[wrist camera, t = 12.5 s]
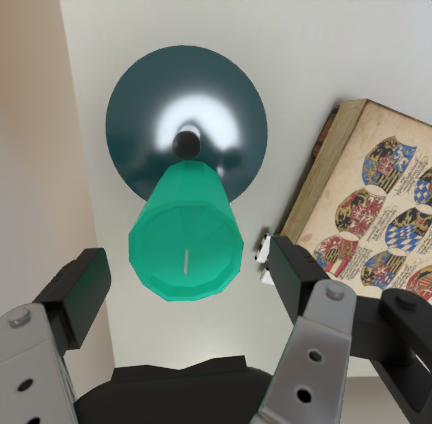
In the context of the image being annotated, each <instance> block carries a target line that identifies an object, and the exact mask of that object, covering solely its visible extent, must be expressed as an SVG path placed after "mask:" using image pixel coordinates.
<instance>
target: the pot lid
mask: <svg viewBox="0 0 432 424" xmlns="http://www.w3.org/2000/svg"><path fill="white" fill-rule="evenodd" d="M106 139H107V145H108V149H109V152H110V156H111V158H112V161H113V163H114V165H115V167H116V169H117V171H118V173H119V174H120V176H121V177H122V178H123V180H124V181H125V183H126V184H127V185H128V186H129V187H130V188H131V189H132V190H133V191H134V192H135V193H136V194H137V195H139V196H140V197H141V198H143V199H144V200H146V201H148V199H149V198H150V196H151V194H152V192H153V191H154V189H155V187H156V185H157V183H158V182H159V180H160V179H161V177H162V176H163V175H164V173H165V172H166V170H167V169H168V168H169V166H172V165H174V164H177V163H179V162H181V161H184V160H191V161H199V162H204V163H205V164H207V165H208V166H209V167H211V168H212V169H213V170H215V171H216V172H217V173H218V175H219V178H220V180H221V183H222V185H223V188H224V190H225V193H226V196H227V199H228V201H229V203H230V202H231V201H233V200H234V199H236V198H237V197H238V196H239V195H240V194H241V193H243V192H244V191H245V190H246V188H247V187H248V186H249V185H250V184H251V182H252V181H253V179H254V178H255V176H256V175H257V173H258V171H259V169H260V167H261V164H262V161H263V159H264V155H265V151H266V146H267V120H266V114H265V110H264V107H263V103H262V101H261V99H260V96H259V94H258V92H257V90H256V89H255V87H254V85H253V83H252V82H251V81H250V79H249V78H248V77H247V76H246V74H245V73H244V72H243V71H242V70H241V69H240V68H239V67H238V66H237V65H235V64H234V63H233V62H231V61H230V60H229V59H227V58H226V57H224V56H222V55H220V54H218V53H216V52H214V51H211V50H208V49H206V48H201V47H196V46H185V45H180V46H170V47H166V48H162V49H158V50H156V51H154V52H152V53H149V54H147V55H146V56H144V57H142V58H141V59H139V60H138V61H136V62H135V63H134V64H133V65H132V66H131V67H130V68H129V69H128V70H127V71H126V72H125V73H124V74H123V76H122V77H121V78H120V80H119V82H118V83H117V85H116V86H115V88H114V91H113V93H112V95H111V98H110V101H109V105H108V108H107V114H106Z"/></svg>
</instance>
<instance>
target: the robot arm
mask: <svg viewBox="0 0 432 424" xmlns="http://www.w3.org/2000/svg"><path fill="white" fill-rule="evenodd" d="M269 272H270V276H271V278H272V280H273V282H274V284H275V287H276V289H277V291H278V293H279V295H280V297H281V300H282V302H283V304H284V306H285V308H286V310H287V312H288V315H289V317H290V319H291V321H292V323H293V325H294V327H293V330H292V332H291V335H290V337H289V339H288V342H287V344H286V346H285V349H284V351H283V354H282V356H281V358H280V361H279V363H278V366H277V368H276V370H275V373H274V375H273V376H272V375H270V374H269V373H267V372H264V371H262V370H260V369H256V368H253V367H248V366H247V365H246V361H245V356H244V355H243V356H232V357H222V358H213V359H210V360H207V361H204V362H202V363H199V364H196V365H193V366H190V367H187V368H185V369H181V370H176V369H170V368H164V367H158V366H152V365H140V366H130V367H119V368H114V371H113V375H112V378H111V380H110V381H108V382H105V383H103V384H101V385H99V386H97V387H95V388H94V389H92V390H90V391H89V392H87V393H86V394H84V395H83V396H81V397H80V398H79V399H78V400H77V397H76V394H75V391H74V388H73V384H72V381H71V378H70V376H69V372H68V369H67V366H66V363H65V360H64V358H63V356H64V354H65V352H66V351H67V350H74V349H80V347H81V345H82V343H83V341H84V339H85V337H86V335H87V333H88V331H89V329H90V327H91V325H92V323H93V321H94V319H95V317H96V315H97V313H98V311H99V309H100V307H101V305H102V303H103V301H104V299H105V297H106V295H107V293H108V291H109V289H110V286H111V273H110V269H109V265H108V260H107V256H106V252H105V250H104V248H89V249H85V250H84V251H83V252H82V253H81V254H80V256H79V257H78V258H77V259H76V260H73V261H71V262H70V263H68V264H67V265H65V266H64V267H62V269H61V270H60V271H59V272H58V273H57V274H56V276H55V277H54V278H53V279H52V280H51V282H50V283H48V285H47V286H46V287H45V288H44V289H43V290H42V291H41V293H40V294H39V295H38V296H37V297H36V298H35V300H34V301H33V302H32V303H29V304H24V305H21V306H18V307H16V308H14V309H12V310H10V311H8V312H7V313H5V314H4V315H3V316H1V317H0V424H340V417H341V410H342V404H343V397H344V390H345V383H346V376H347V369H348V363H349V356H354V357H359V358H364V359H369V360H370V362H371V363H372V365H373V367H374V368H375V370H376V371H377V373H378V374H379V376H380V377H381V379H382V381H383V382H384V384H385V385H386V387H387V388H388V390H389V391H390V393H391V394H392V396H393V398H394V399H395V401H396V402H397V404H398V405H399V407H400V408H401V410H402V412H403V413H404V415H405V416H406V418H407V420H408V421H409V423H410V424H432V305H431V304H430V303H429V302H427V301H426V300H425V299H424V298H422V297H421V296H419V295H417V294H415V293H413V292H411V291H408V290H405V289H400V288H387V289H385V290H383V291H382V294H381V298H380V299H379V298H372V297H365V296H359V295H356V293H355V291H354V290H353V289H352V288H351V287H350V286H348V285H347V284H345V283H343V282H340V281H337V280H332V279H331V278H330V277H329V276H328V274H327V273H326V272H325V271H324V269H323V268H322V267H321V266H320V265H319V263H317V261H316V260H315V259H314V257H312V255H311V254H310V253H309V251H308V250H307V249H305V248H304V247H302V246H300V245H299V244H297V245H294V244H293V243H292V241H291V240H290V239H289V238H288V236H287V235H283V236H271V238H270V246H269ZM416 354H417V356H418V357H419V358H420V359H421V360H422V361H423V363H424V364H425V365H426V366H427V368H428V369H429V371H430V373H431V374H430V373H429V372H428V370H427V369H426V368H425V367H424V366H423V364H422V363H421V362H420V361H419V360H418V358H417V357H416Z"/></svg>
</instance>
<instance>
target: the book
mask: <svg viewBox="0 0 432 424" xmlns="http://www.w3.org/2000/svg"><path fill="white" fill-rule="evenodd" d="M312 155H313V157H316V160H315V162H314V164H313V166H312V168H311V170H310V172H309V174H308V177H307V179H306V181H305V183H304V185H303V187H302V189H301V192H300V194H299V196H298V198H297V200H296V202H295V204H294V207H293V209H292V211H291V213H290V215H289V217H288V219H287V221H286V224H285V226H284V228H283V230H282V232H280V233H275V235H272V234H268V233H266V234H265V236H264V238H263V240H262V243H261V245H260V247H259V249H258V252H257V254H256V256H255V260H256V261H258V262H262V263H264V262H265V260H266V258H268V262H267V263H268V266H269V246H270V238H271V236H283V235H287V236H288V238H289V239H290V240H291V241H292V243H293V244H294V245H297V244H299V245H300V246H302V247H304V248H305V249H307V250H308V251H309V253H310V254H311V255H312V257H314V259H315V260H316V261H317V263H319V265H320V266H321V267H322V268H323V269H324V271H325V272H326V273H327V274H328V276H329V277H330V278H331V279H332V280H337V281H340V282H343V283H345V284H347V285H348V286H350V287H351V288H352V289H353V290H354V291H355V293H356V295H359V296H365V297H372V298H379V299H380V298H381V294H382V291H383V290H385V289H387V288H400V289H405V290H408V291H411V292H413V293H415V294H417V295H419V296H421V297H422V298H424V299H425V300H426V301H427V302H429V303H430V304H431V305H432V125H429V124H427V123H424V122H422V121H420V120H417V119H415V118H412V117H410V116H408V115H405V114H403V113H400V112H398V111H396V110H393V109H391V108H388V107H386V106H384V105H381V104H379V103H376V102H374V101H372V100H369V99H359V100H349V101H343V102H342V104H341V106H337V107H335V109H334V110H333V112H332V114H331V115H330V117H329V119H328V121H327V123H326V125H325V127H324V129H323V131H322V133H321V135H320V137H319V139H318V141H317V143H316V145H315V147H314V149H313V151H312ZM260 280H261V282H264V283H268V284H272V285H275V284H274V282H273V280H272V278H271V276H270V272H269V268H267V267H265V268H264V270H263V273H262V275H261V277H260Z"/></svg>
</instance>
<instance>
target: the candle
mask: <svg viewBox="0 0 432 424" xmlns="http://www.w3.org/2000/svg"><path fill="white" fill-rule="evenodd" d="M243 244H244V242H243V240H242V237H241V234H240V232H239V229H238V226H237V223H236V221H235V218H234V215H233V212H232V210H231V207H230V204H229V201H228V199H227V196H226V193H225V190H224V188H223V185H222V183H221V180H220V178H219V175H218V173H217V172H216V171H215V170H213V169H212V168H211V167H209V166H208V165H207V164H205V163H204V162H199V161H191V160H184V161H181V162H179V163H177V164H174V165H172V166H169V168H168V169H167V170H166V172H165V173H164V175H163V176H162V177H161V179H160V180H159V182H158V183H157V185H156V187H155V189H154V191H153V192H152V194H151V196H150V198H149V199H148V201H147V203H146V205H145V207H144V208H143V210H142V212H141V214H140V215H139V217H138V219H137V221H136V223H135V224H134V226H133V228H132V230H131V231H130V233H129V261H130V263H131V265H132V267H133V268H134V270H135V272H136V274H137V275H138V277H139V279H140V281H141V282H142V284H143V285H144V286H146V287H147V288H148V289H150V290H151V291H153V292H154V293H156V294H157V295H159V296H160V297H161V298H163V299H164V300H166V301H196V300H199V299H202V298H205V297H208V296H211V295H214V294H217V293H220V292H222V291H223V290H224V289H225V287H226V286H227V285H228V284H229V283H230V282H231V281H232V279H233V278H234V277H235V276H236V275H237V274H238V273H239V272H240V265H241V258H242V251H243Z"/></svg>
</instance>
